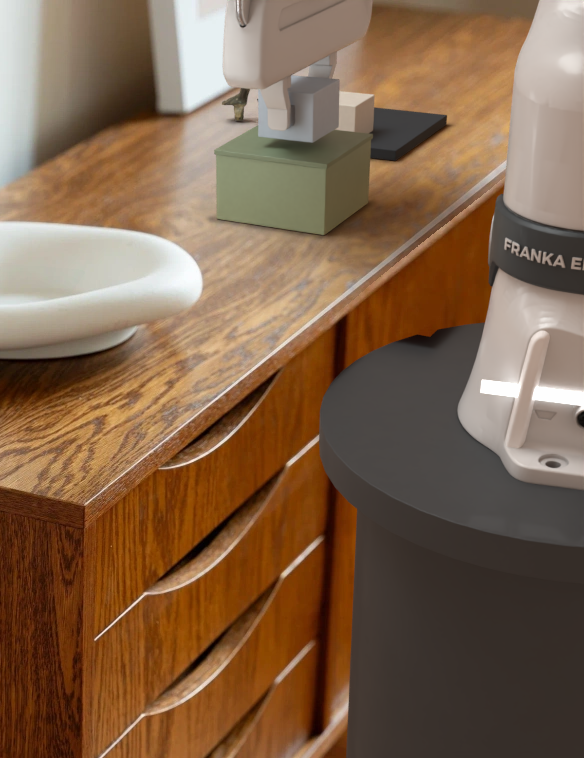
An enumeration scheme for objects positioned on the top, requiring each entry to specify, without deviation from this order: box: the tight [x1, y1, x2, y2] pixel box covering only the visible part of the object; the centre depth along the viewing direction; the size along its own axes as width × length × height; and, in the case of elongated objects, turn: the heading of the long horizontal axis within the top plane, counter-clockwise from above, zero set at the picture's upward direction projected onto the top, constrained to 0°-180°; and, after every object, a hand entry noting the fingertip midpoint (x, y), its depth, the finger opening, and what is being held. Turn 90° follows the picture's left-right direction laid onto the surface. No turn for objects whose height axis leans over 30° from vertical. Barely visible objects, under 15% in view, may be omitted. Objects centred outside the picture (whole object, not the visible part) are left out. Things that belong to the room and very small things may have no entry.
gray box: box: [257, 74, 341, 143], centre depth 123 cm, size 5×5×4 cm
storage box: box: [213, 124, 373, 236], centre depth 126 cm, size 10×9×6 cm
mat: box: [369, 106, 448, 162], centre depth 146 cm, size 11×13×1 cm
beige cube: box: [335, 90, 376, 134], centre depth 142 cm, size 4×4×4 cm
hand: (299, 118), depth 124 cm, fingers closed on gray box, 5 cm apart
